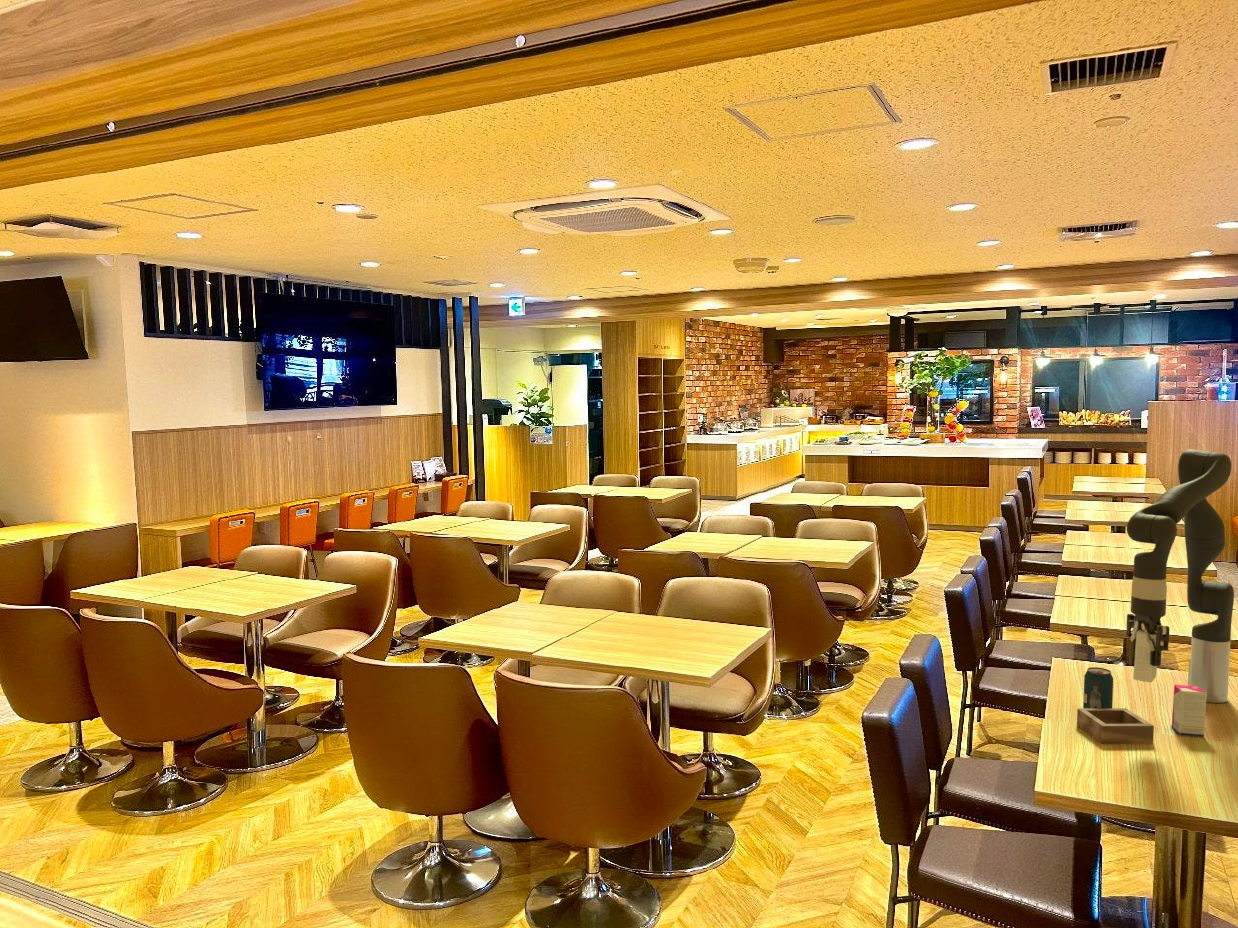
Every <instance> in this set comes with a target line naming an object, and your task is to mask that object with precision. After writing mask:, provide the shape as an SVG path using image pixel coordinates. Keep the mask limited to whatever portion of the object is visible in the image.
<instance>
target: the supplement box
mask: <svg viewBox="0 0 1238 928" xmlns="http://www.w3.org/2000/svg"><path fill="white" fill-rule="evenodd" d="M1173 685H1174V686H1173V699H1172V716H1171V728H1172V730H1174V731H1175V732H1176V733H1177V734H1178V735H1179V736H1186V737H1188V736H1189V737H1202V738H1203V737H1205V728H1206V727H1205V725H1206V711H1207V702H1206V697H1207V693H1206V692H1205V691H1203V690H1202V689H1201V688H1199V687H1198V686H1188V685H1185V684H1183V685H1182V684H1173Z"/></svg>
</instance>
